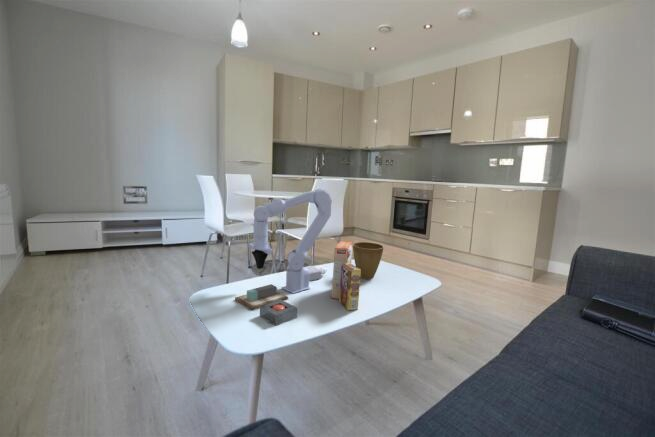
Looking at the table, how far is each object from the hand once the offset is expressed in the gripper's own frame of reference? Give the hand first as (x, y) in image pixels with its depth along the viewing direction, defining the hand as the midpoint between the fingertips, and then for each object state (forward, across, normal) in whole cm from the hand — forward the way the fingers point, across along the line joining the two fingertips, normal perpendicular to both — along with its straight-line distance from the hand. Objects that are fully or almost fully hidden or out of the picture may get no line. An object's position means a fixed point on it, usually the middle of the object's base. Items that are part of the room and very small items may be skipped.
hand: (260, 268), depth 129 cm
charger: (+10, +1, +29) cm, 31 cm away
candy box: (+10, +34, +17) cm, 39 cm away
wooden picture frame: (+9, +9, -5) cm, 14 cm away
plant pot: (+10, +17, +50) cm, 54 cm away
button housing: (+9, +25, -9) cm, 28 cm away
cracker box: (+10, +24, +24) cm, 35 cm away
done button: (+8, +25, -9) cm, 28 cm away
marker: (+8, +9, -5) cm, 13 cm away
